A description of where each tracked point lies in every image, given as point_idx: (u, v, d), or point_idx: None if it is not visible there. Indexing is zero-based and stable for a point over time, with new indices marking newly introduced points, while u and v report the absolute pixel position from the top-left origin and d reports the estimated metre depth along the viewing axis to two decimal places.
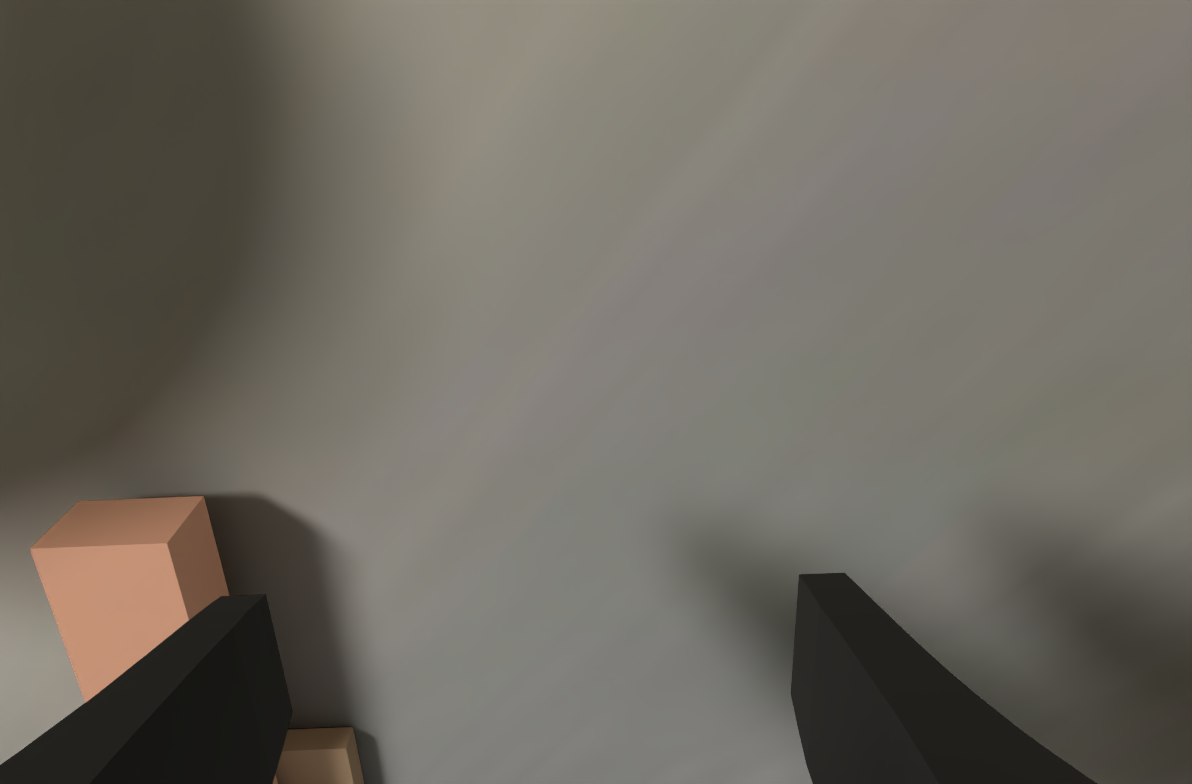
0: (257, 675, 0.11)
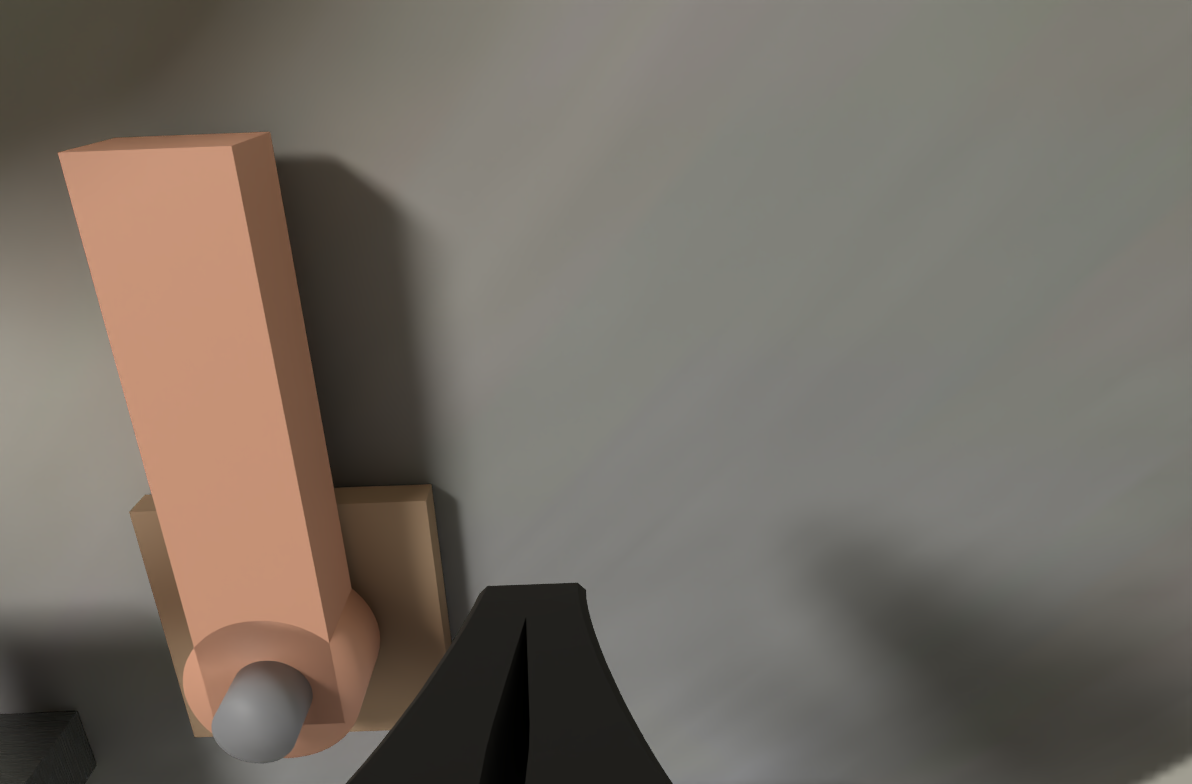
0: None
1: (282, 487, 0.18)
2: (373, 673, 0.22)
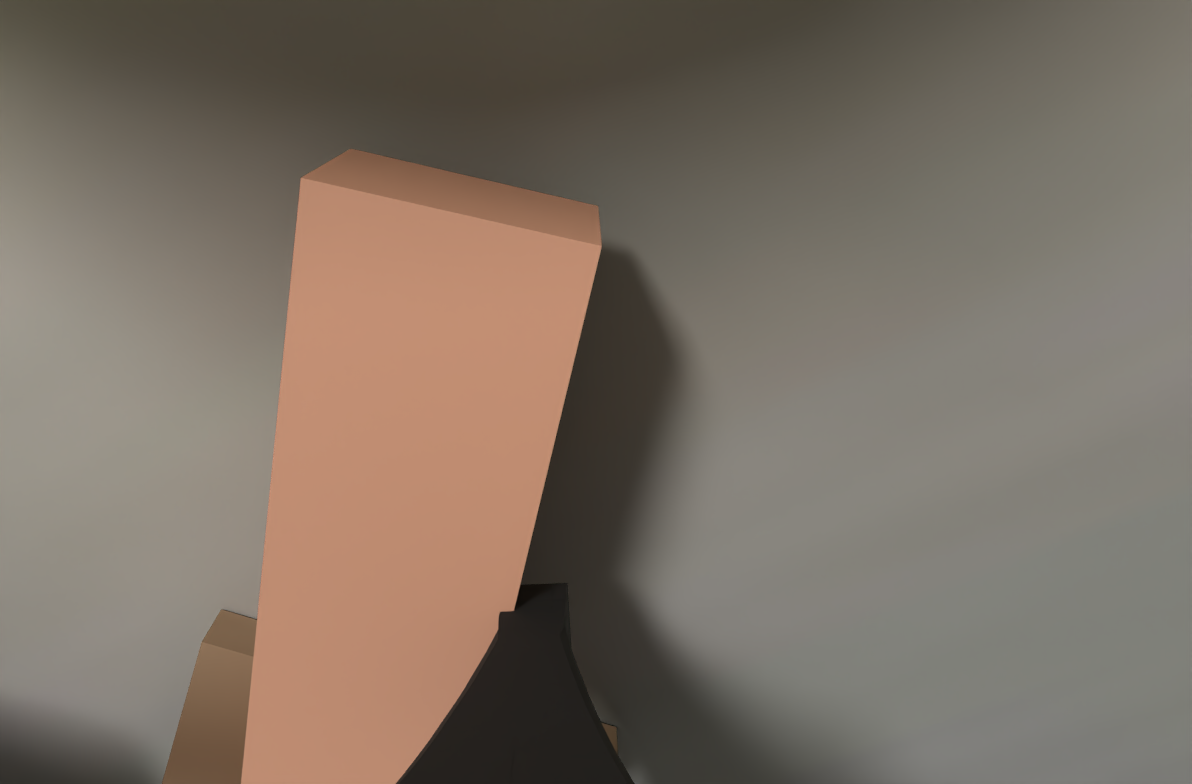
0: None
1: None
2: None
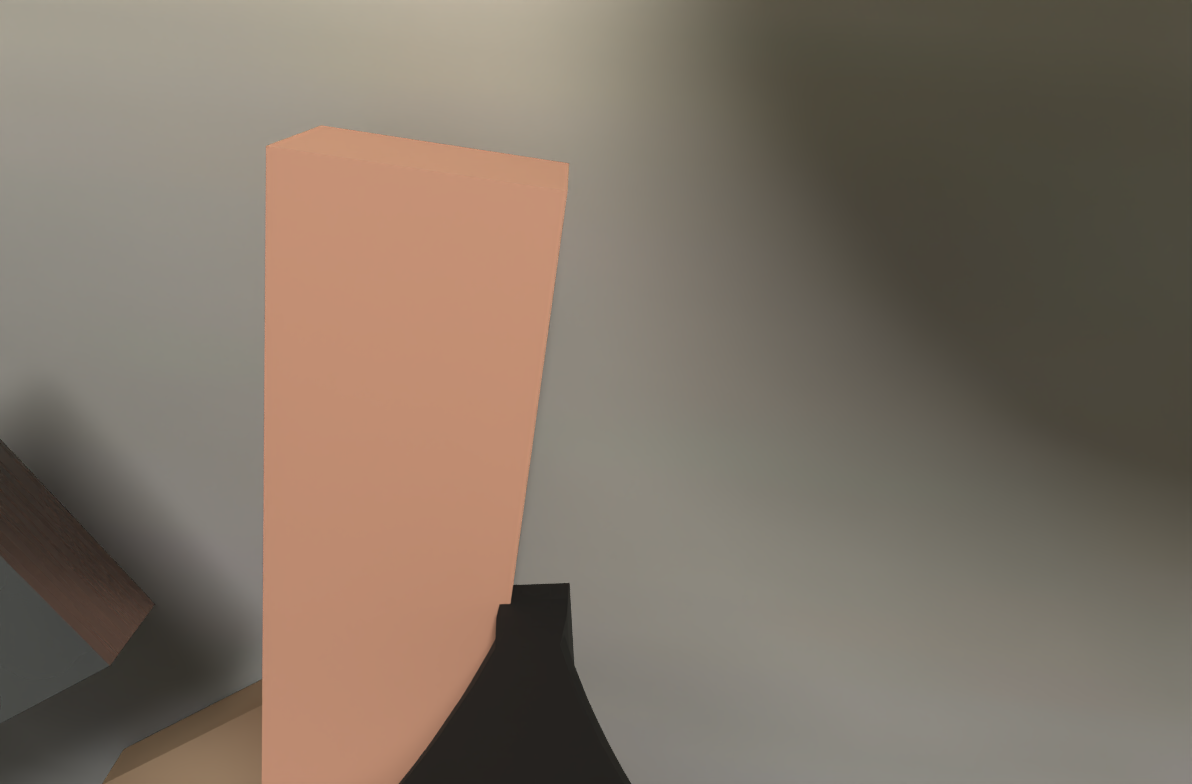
0: None
1: None
2: None
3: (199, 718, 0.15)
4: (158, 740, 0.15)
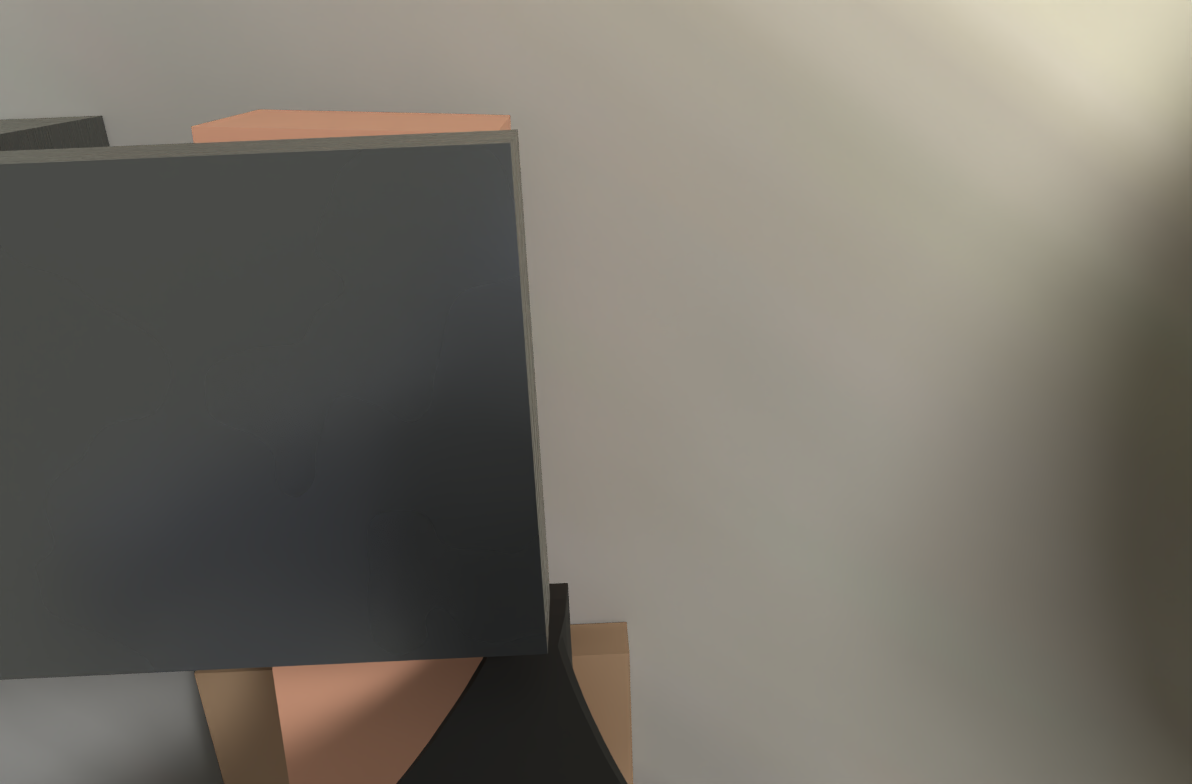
0: None
1: None
2: None
3: None
4: None
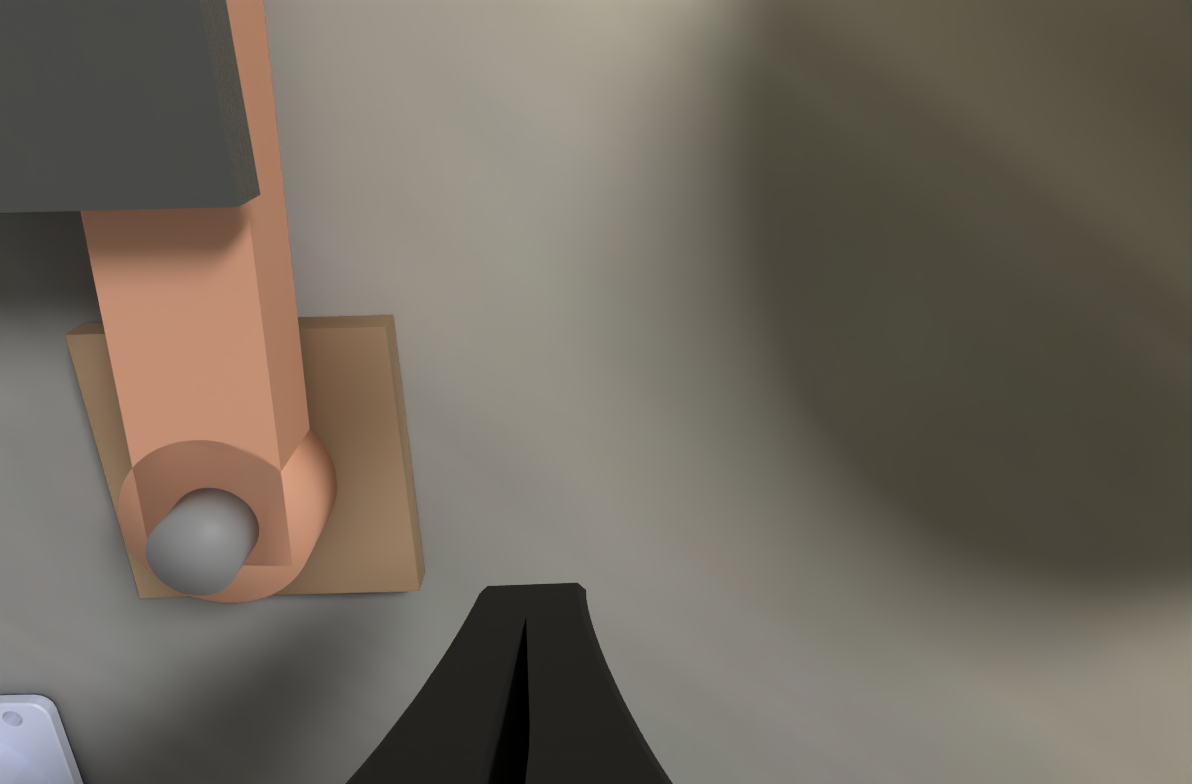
0: None
1: (240, 284, 0.16)
2: None
3: None
4: None
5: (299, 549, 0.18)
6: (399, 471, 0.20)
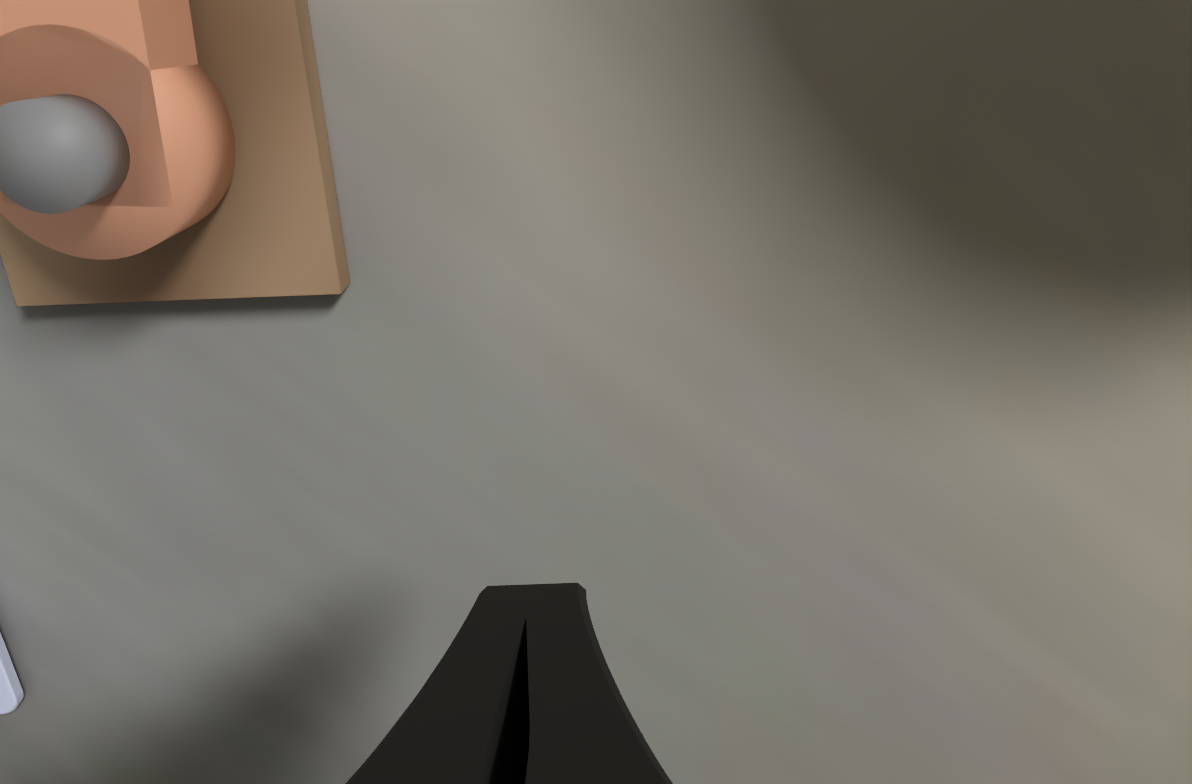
0: None
1: None
2: None
3: None
4: None
5: (180, 183, 0.15)
6: (309, 129, 0.17)
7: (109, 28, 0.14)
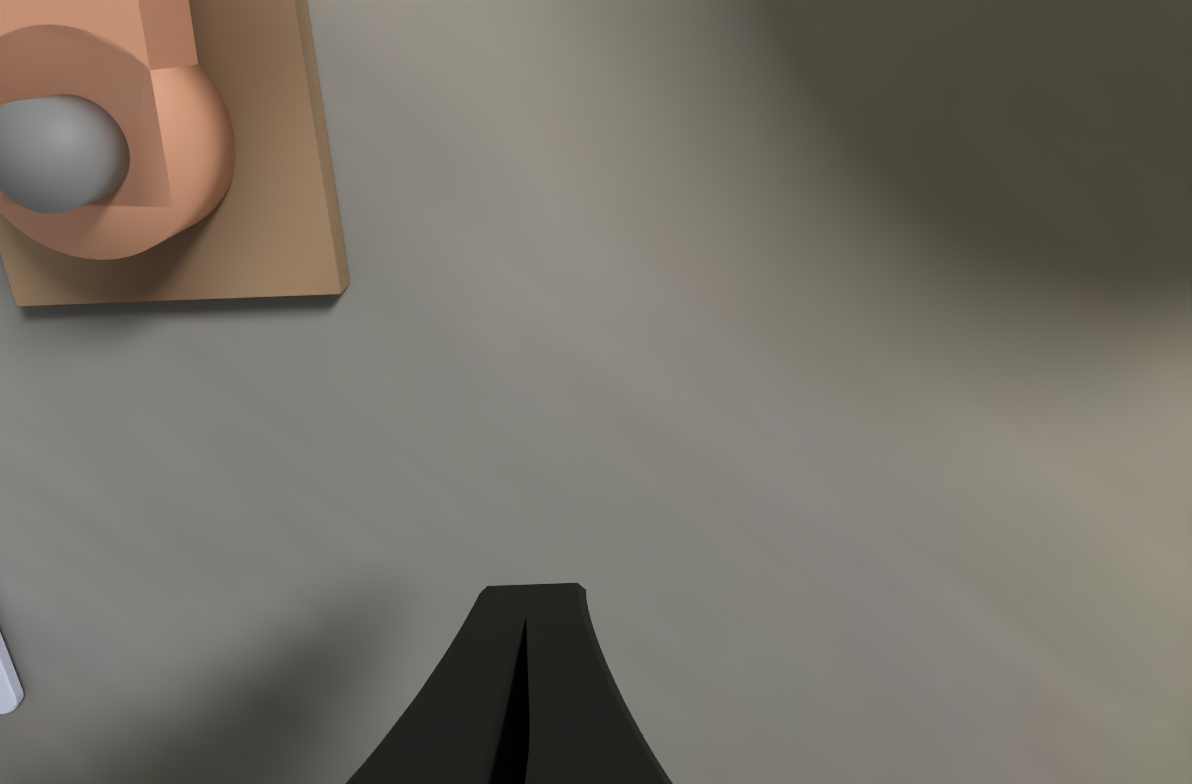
0: None
1: None
2: None
3: None
4: None
5: (180, 183, 0.15)
6: (309, 129, 0.17)
7: (109, 28, 0.14)
